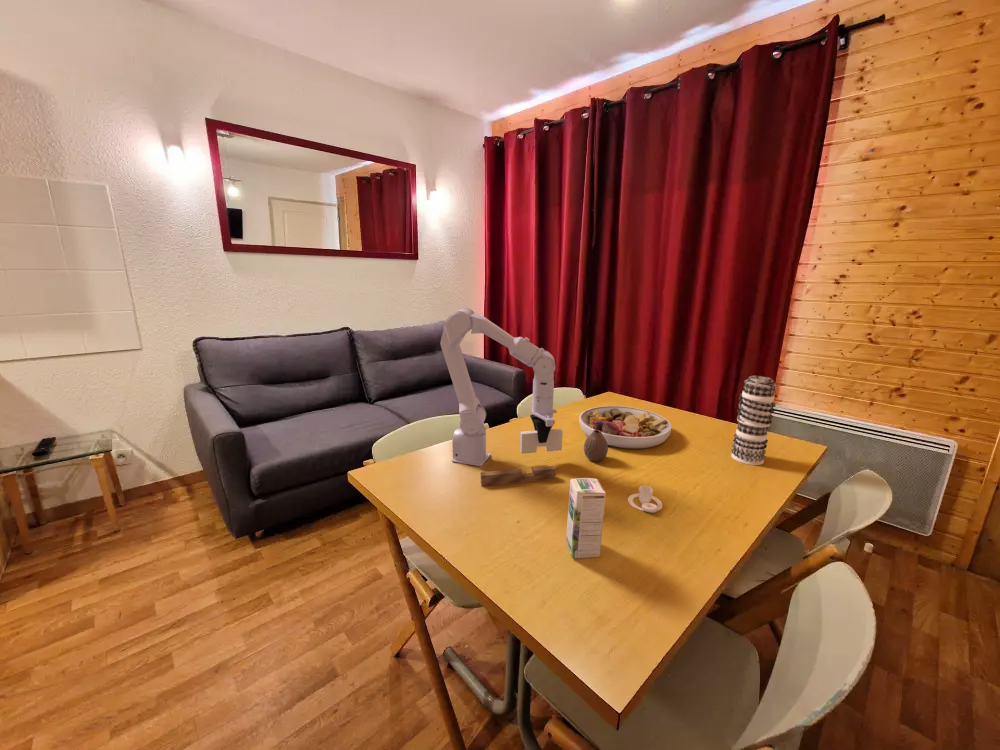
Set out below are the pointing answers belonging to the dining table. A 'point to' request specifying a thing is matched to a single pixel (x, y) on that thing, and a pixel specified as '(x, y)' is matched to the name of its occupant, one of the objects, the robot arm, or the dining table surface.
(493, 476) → the walnut rail
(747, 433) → the decorative candle
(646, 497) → the teacup and saucer
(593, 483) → the syrup box
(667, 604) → the dining table surface
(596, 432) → the vase
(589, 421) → the bowl
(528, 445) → the notched white slab
